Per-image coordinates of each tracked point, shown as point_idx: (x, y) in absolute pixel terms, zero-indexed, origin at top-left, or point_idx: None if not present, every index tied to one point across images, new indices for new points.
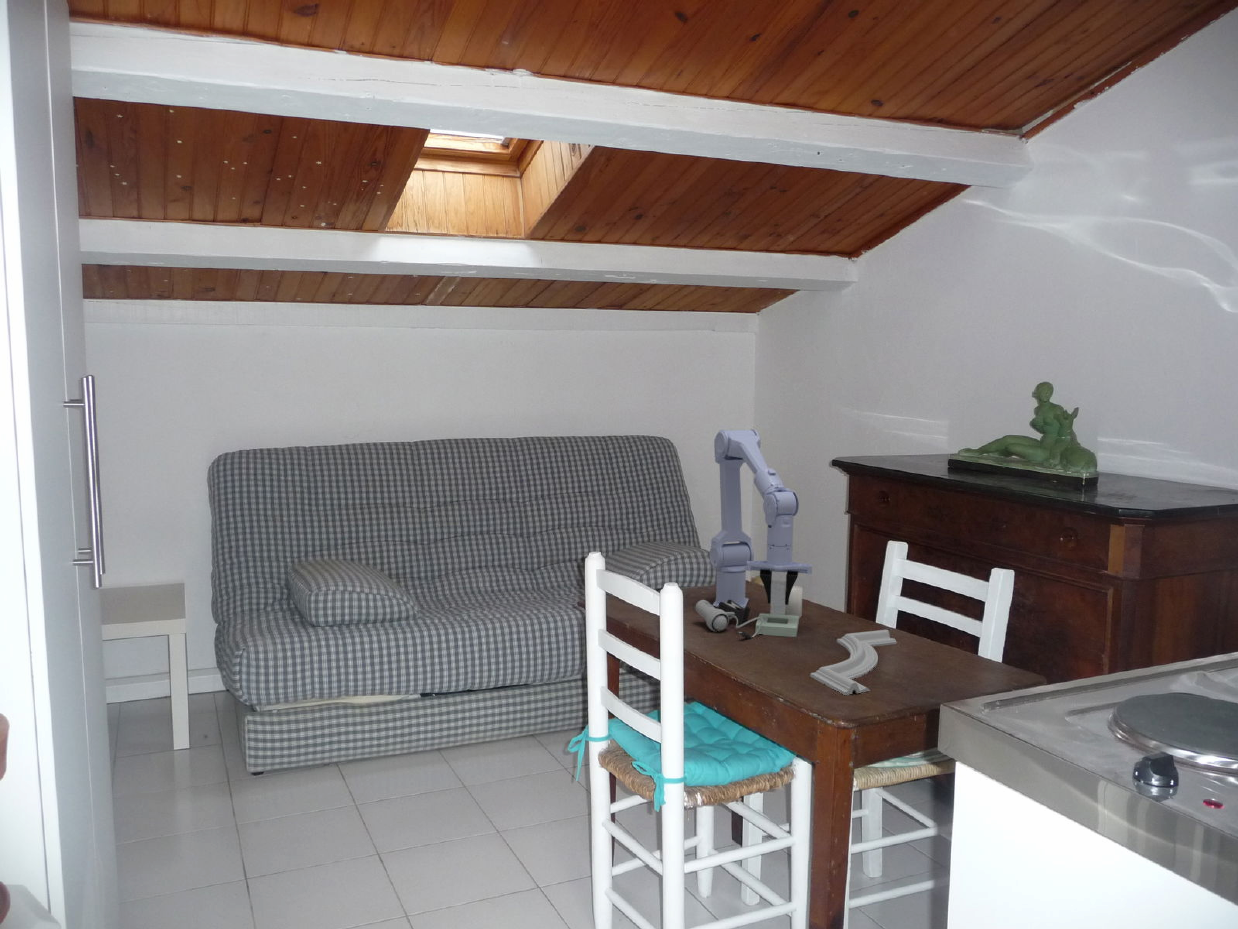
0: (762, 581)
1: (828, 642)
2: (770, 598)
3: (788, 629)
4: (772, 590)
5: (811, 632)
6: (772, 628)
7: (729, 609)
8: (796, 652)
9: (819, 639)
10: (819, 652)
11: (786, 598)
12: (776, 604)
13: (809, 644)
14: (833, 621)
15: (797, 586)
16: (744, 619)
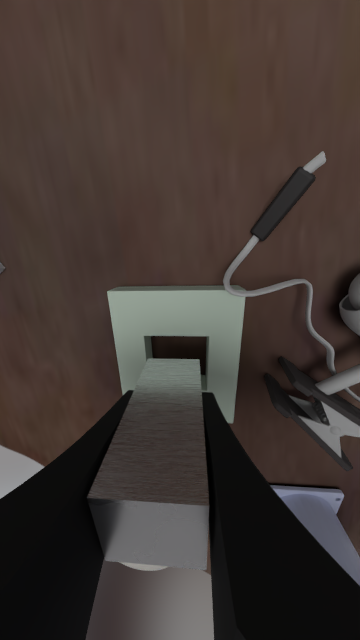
0: (303, 527)
1: (24, 258)
2: (204, 406)
3: (134, 289)
4: (195, 445)
5: (90, 344)
6: (186, 289)
7: (343, 405)
8: (81, 82)
9: (55, 283)
10: (11, 117)
11: (122, 408)
12: (174, 382)
13: (66, 217)
14: (67, 435)
15: (128, 563)
16: (275, 384)
